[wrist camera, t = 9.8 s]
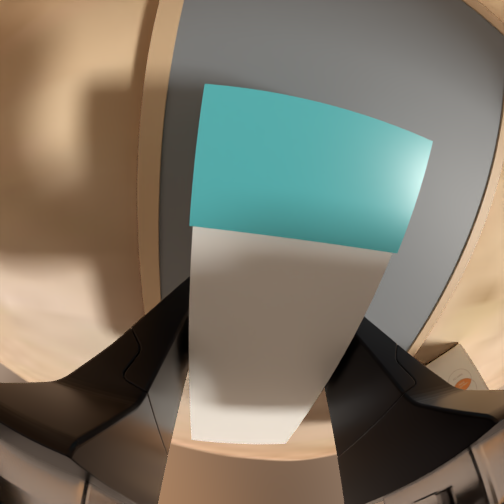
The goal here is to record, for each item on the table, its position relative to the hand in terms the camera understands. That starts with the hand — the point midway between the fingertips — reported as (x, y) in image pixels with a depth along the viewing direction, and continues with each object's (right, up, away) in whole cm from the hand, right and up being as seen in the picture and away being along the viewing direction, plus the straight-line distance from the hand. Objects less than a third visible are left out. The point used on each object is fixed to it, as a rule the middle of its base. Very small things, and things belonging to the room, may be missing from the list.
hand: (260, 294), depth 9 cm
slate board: (+3, +4, 0) cm, 5 cm away
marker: (0, +1, +1) cm, 1 cm away
